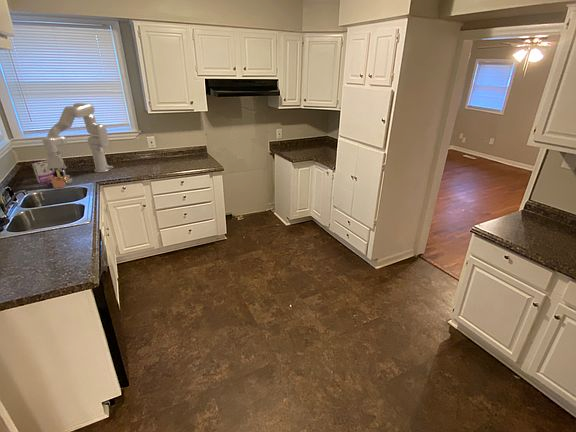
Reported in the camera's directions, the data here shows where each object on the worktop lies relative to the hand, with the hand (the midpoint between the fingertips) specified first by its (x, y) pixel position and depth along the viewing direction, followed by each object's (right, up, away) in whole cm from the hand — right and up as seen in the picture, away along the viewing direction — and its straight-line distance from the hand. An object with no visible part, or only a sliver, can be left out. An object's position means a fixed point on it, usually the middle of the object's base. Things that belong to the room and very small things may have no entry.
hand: (59, 176), depth 249 cm
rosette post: (-1, -5, +5) cm, 8 cm away
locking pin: (0, -4, +2) cm, 5 cm away
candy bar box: (-18, -3, +10) cm, 21 cm away
